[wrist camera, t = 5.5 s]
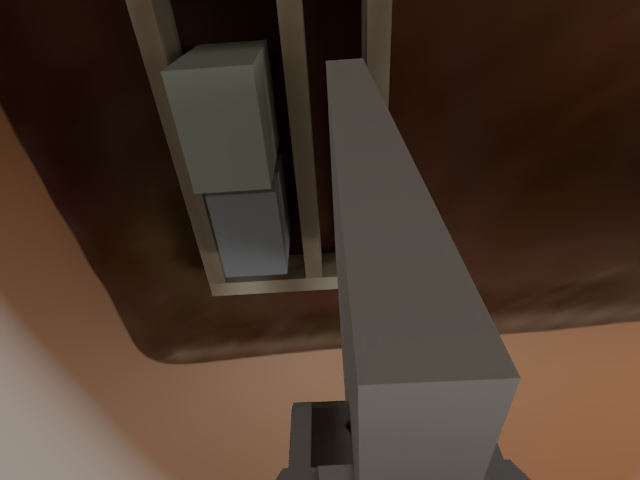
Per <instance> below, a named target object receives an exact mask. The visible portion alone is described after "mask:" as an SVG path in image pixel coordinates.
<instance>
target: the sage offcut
mask: <svg viewBox="0 0 640 480" xmlns="http://www.w3.org/2000/svg"><path fill="white" fill-rule="evenodd" d="M161 75H162V78H163V82H164V86H165V89H166V93H167V96H168V100H169V104H170V107H171V111H172V115H173V118H174V122H175V125H176V129H177V133H178V136H179V140H180V143H181V147H182V151H183V154H184V158H185V162H186V165H187V169H188V172H189V176H190V180H191V183H192V187H193V191H194V194H201V193H217V192H232V191H247V190H263V189H271V186H272V181H273V175H274V170H275V164H276V159H277V153H278V147H279V142H280V137H279V129H278V121H277V113H276V105H275V97H274V89H273V81H272V74H271V66H270V58H269V50H268V42H267V40H255V41H242V42H228V43H214V44H200V45H197V46H196V47H194V48H193V49H191V50H190V51H189V52H187V53H186V54H184V55H183V56H181V57H180V58H179V59H177V60H176V61H174V62H173V63H172V64H170V65H169V66H167V67H166V68H164V69H163V70H162V71H161Z"/></svg>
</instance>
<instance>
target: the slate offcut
mask: <svg viewBox="0 0 640 480" xmlns="http://www.w3.org/2000/svg"><path fill="white" fill-rule="evenodd" d="M205 197H206V201H207V205H208V209H209V213H210V216H211V220H212V224H213V228H214V232H215V236H216V240H217V244H218V248H219V251H220V255H221V259H222V263H223V267H224V271H225V275H226V278H227V277H244V276H261V275H278V274H287V271H288V258H289V246H290V233H291V225H290V217H289V209H288V201H287V193H286V185H285V177H284V169H283V161H282V154H278V155H277V159H276V164H275V170H274V175H273V181H272V186H271V189H263V190H247V191H232V192H217V193H207V194H206V196H205Z"/></svg>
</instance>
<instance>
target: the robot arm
mask: <svg viewBox="0 0 640 480" xmlns="http://www.w3.org/2000/svg"><path fill="white" fill-rule="evenodd" d="M276 480H354V460H353V447H352V435H351V424H350V407H349V401H330V402H329V401H328V402H299V403H293V406H292V414H291V433H290V450H289V468H284V469H282V471H281V472H280V474H279V476H278V477H277V479H276ZM483 480H530V479H529V478H528V477H527V476H526V475H525V474H524V473H523V472H522V471H521V470H520V469H519V468H518V467H517V466H516V465H515V464H514V463H513V462H512V461H511V460H504V459H503V456H502V454H501V452H500V449H499V446H498V443H497V444H496V446H495V449H494V452H493V454H492V457H491V460H490V462H489V465H488V468H487V471H486V473H485V476H484V479H483Z"/></svg>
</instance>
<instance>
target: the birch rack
mask: <svg viewBox="0 0 640 480" xmlns="http://www.w3.org/2000/svg"><path fill="white" fill-rule="evenodd" d="M125 1H126V4H127V8H128V11H129V15H130V18H131V21H132V25H133V28H134V31H135V35H136V38H137V42H138V45H139V48H140V52H141V55H142V59H143V62H144V65H145V69H146V72H147V75H148V79H149V82H150V86H151V89H152V92H153V96H154V99H155V103H156V106H157V109H158V113H159V116H160V119H161V123H162V126H163V130H164V133H165V136H166V140H167V143H168V147H169V150H170V153H171V157H172V160H173V163H174V167H175V170H176V174H177V177H178V180H179V184H180V187H181V191H182V194H183V197H184V201H185V204H186V207H187V211H188V214H189V218H190V221H191V224H192V228H193V231H194V234H195V238H196V241H197V245H198V248H199V251H200V255H201V258H202V262H203V265H204V268H205V272H206V275H207V278H208V282H209V285H210V289H211V292H212V295H213V296H225V295H242V294H258V293H275V292H292V291H309V290H326V289H338V281H337V266H336V252H331V253H322V252H321V238H320V225H319V212H318V198H317V185H316V172H315V159H314V145H313V132H312V119H311V105H310V92H309V79H308V66H307V52H306V39H305V26H304V12H303V0H276V3H277V13H278V22H279V31H280V40H281V50H282V59H283V68H284V77H285V87H286V96H287V105H288V114H289V124H290V133H291V142H292V151H293V161H294V170H295V179H296V188H297V198H298V207H299V216H300V225H301V235H302V244H303V253H304V254H298V255H289V258H288V271H287V274H278V275H261V276H244V277H227V278H226V275H225V271H224V267H223V263H222V259H221V255H220V251H219V248H218V244H217V240H216V236H215V232H214V228H213V224H212V220H211V216H210V213H209V209H208V205H207V201H206V197H205V196H206V194H207V193H201V194H194V191H193V187H192V183H191V180H190V176H189V172H188V169H187V165H186V162H185V158H184V154H183V151H182V147H181V143H180V140H179V136H178V133H177V129H176V125H175V122H174V118H173V115H172V111H171V107H170V104H169V100H168V96H167V93H166V89H165V86H164V82H163V78H162V75H161V71H162V70H163V69H164V68H166V67H167V66H169V65H170V64H172V63H173V62H174V61H176V60H177V59H179V58H180V57H181V56H183V52H182V48H181V44H180V40H179V36H178V32H177V27H176V23H175V19H174V15H173V11H172V7H171V2H170V0H125ZM391 22H392V0H361V58H363V60H364V62H365V64H366V66H367V68H368V70H369V72H370V74H371V76H372V78H373V80H374V82H375V84H376V86H377V88H378V90H379V92H380V94H381V96H382V98H383V100H384V102H385V104H386V106H387V108H388V105H389V77H390V50H391Z"/></svg>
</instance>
